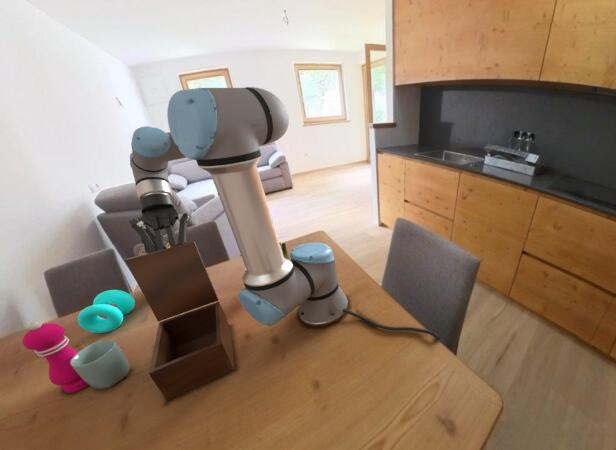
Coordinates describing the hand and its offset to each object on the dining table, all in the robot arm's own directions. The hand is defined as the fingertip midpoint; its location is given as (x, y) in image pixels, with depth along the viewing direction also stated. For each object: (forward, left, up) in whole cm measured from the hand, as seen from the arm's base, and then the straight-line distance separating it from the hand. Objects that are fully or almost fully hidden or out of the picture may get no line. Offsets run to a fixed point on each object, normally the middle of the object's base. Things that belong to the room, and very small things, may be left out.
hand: (174, 274), depth 74 cm
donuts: (+32, -2, -21) cm, 38 cm away
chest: (-7, +9, -21) cm, 24 cm away
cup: (+12, +16, -21) cm, 29 cm away
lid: (-1, +2, -1) cm, 3 cm away
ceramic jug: (+26, -19, -21) cm, 38 cm away
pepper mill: (+20, +17, -21) cm, 34 cm away
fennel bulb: (+1, -1, -17) cm, 17 cm away
